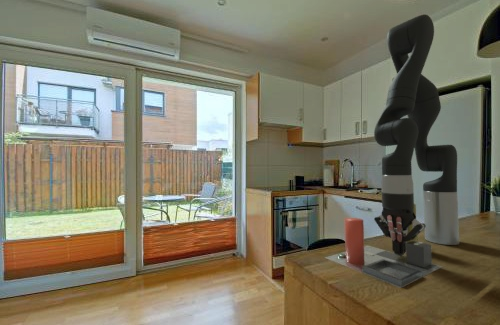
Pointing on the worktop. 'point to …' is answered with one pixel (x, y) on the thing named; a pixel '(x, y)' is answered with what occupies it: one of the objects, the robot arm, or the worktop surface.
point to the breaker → (418, 253)
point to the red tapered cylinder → (354, 240)
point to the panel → (386, 266)
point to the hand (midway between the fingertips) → (399, 254)
